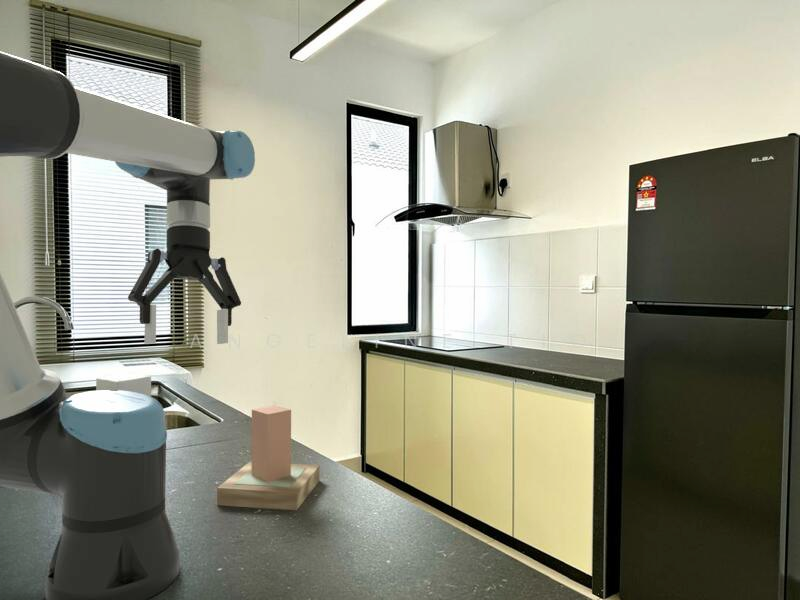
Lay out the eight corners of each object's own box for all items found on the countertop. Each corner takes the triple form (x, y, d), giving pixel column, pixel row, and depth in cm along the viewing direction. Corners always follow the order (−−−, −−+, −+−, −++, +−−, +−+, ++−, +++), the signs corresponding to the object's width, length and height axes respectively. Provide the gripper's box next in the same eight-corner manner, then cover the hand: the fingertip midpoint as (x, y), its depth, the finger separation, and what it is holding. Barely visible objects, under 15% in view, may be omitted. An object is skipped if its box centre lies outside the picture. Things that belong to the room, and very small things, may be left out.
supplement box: (152, 437, 133) (152, 376, 133) (117, 446, 126) (116, 381, 125) (130, 431, 138) (130, 372, 138) (95, 439, 131) (95, 377, 130)
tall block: (267, 482, 96) (267, 414, 95) (251, 475, 99) (251, 409, 99) (290, 475, 99) (291, 409, 99) (274, 468, 103) (275, 405, 102)
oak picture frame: (296, 510, 91) (296, 492, 91) (217, 505, 93) (217, 487, 93) (319, 480, 105) (319, 464, 105) (249, 476, 107) (249, 460, 107)
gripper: (237, 242, 113) (238, 344, 110) (109, 221, 95) (106, 344, 92) (258, 235, 108) (259, 342, 105) (126, 212, 90) (124, 341, 87)
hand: (188, 343), depth 99 cm, fingers open, 13 cm apart
